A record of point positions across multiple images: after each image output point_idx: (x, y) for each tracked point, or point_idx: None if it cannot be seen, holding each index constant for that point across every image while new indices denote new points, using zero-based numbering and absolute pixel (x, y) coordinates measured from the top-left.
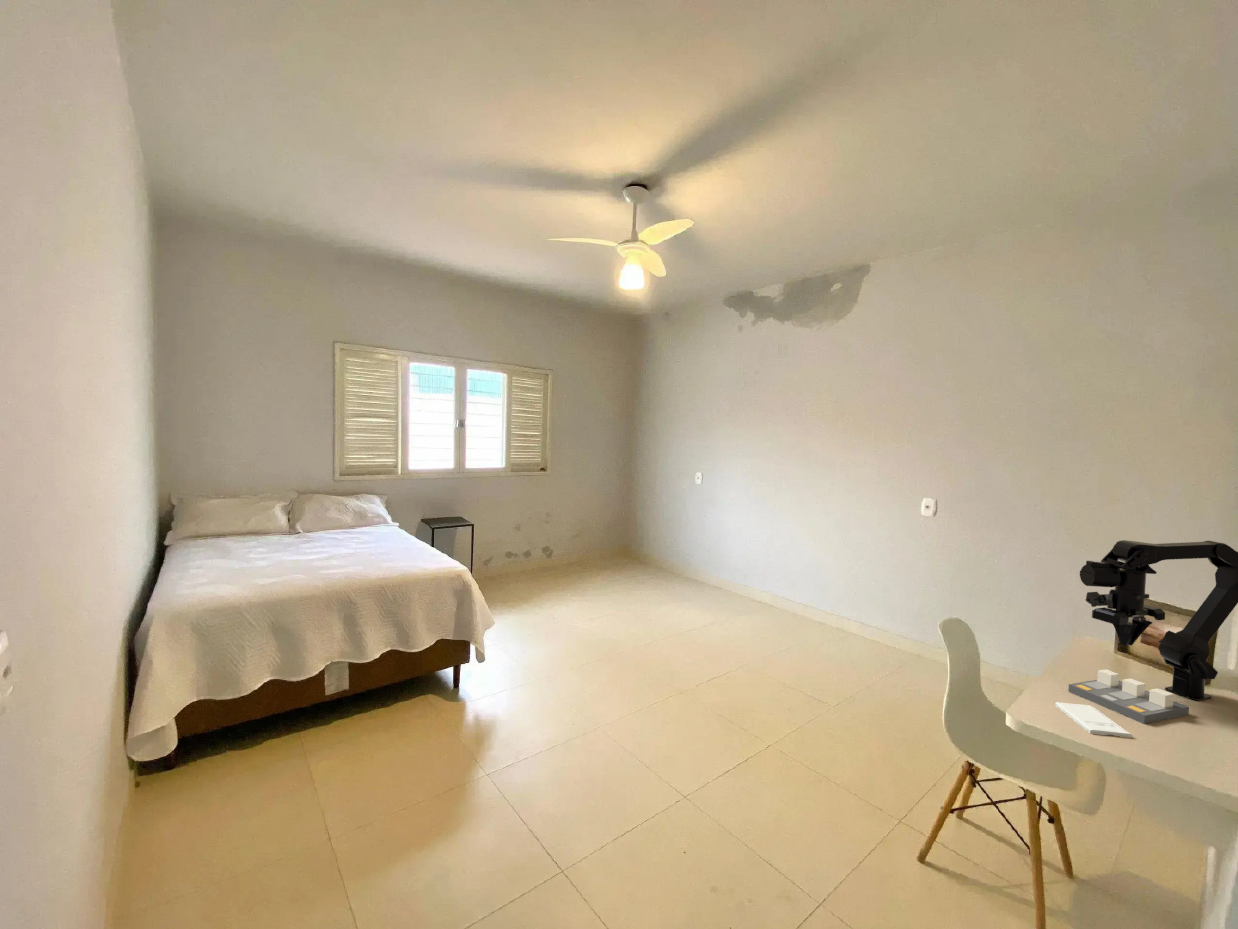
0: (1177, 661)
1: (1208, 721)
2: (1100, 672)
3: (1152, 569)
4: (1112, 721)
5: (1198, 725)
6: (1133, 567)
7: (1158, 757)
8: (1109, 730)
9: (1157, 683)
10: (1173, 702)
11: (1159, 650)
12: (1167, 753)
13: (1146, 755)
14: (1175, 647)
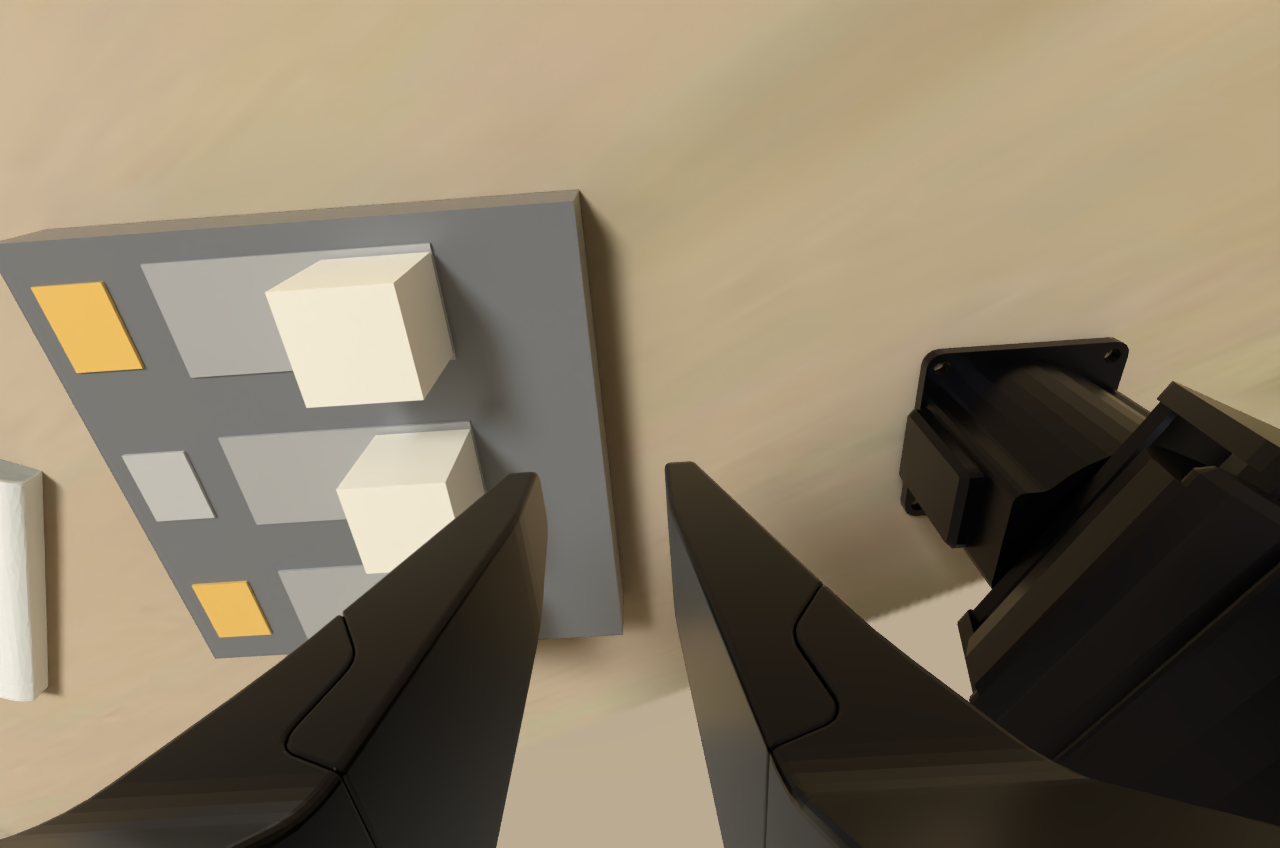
0: (979, 650)
1: (648, 649)
2: (280, 314)
3: None
4: (11, 623)
5: (541, 664)
6: None
7: (49, 777)
8: None
9: (1041, 248)
10: (590, 590)
11: (1174, 485)
12: (118, 767)
13: (5, 764)
14: (1107, 772)
